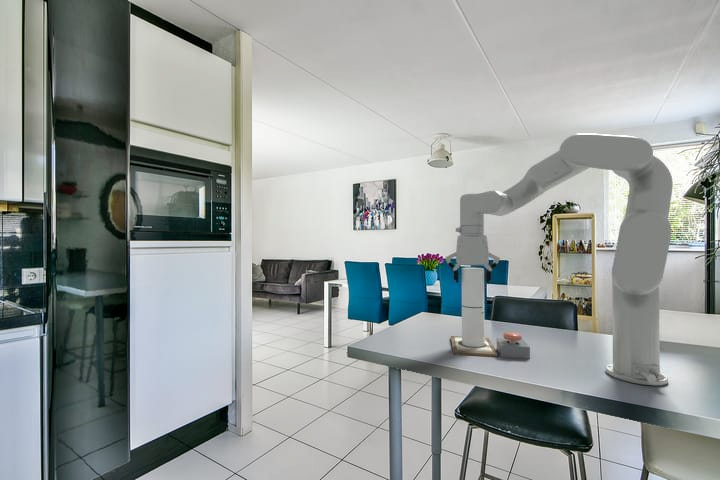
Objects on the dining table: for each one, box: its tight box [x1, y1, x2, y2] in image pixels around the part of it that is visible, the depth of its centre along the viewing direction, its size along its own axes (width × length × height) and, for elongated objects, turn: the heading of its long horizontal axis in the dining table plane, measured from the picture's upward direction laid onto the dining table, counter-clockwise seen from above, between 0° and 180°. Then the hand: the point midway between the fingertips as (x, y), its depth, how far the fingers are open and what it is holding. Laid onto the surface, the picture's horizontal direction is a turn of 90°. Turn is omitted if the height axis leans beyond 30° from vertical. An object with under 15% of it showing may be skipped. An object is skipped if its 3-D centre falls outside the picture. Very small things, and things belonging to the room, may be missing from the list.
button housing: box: [496, 337, 531, 360], centre depth 108 cm, size 8×8×4 cm
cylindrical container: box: [461, 267, 485, 347], centre depth 115 cm, size 7×7×25 cm
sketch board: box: [450, 335, 499, 358], centre depth 115 cm, size 18×13×1 cm
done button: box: [503, 331, 523, 344], centre depth 108 cm, size 5×5×4 cm
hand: (472, 282), depth 115 cm, fingers open, 9 cm apart
